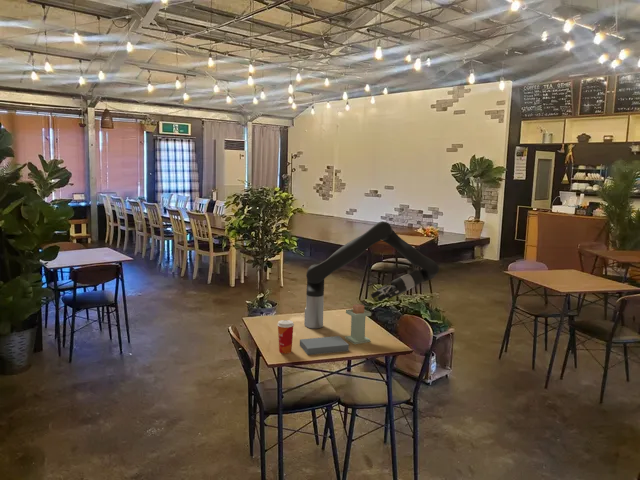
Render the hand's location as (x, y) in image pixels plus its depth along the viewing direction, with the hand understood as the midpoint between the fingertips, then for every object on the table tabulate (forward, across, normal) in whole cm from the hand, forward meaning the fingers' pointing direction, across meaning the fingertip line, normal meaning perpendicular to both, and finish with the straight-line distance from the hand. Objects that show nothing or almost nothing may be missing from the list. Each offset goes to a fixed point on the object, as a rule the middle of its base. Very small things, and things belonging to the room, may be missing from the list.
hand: (374, 297), depth 248 cm
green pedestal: (+15, -3, +17) cm, 23 cm away
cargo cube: (+10, -2, +4) cm, 11 cm away
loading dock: (+34, +4, +10) cm, 35 cm away
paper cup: (+51, +5, +3) cm, 51 cm away
